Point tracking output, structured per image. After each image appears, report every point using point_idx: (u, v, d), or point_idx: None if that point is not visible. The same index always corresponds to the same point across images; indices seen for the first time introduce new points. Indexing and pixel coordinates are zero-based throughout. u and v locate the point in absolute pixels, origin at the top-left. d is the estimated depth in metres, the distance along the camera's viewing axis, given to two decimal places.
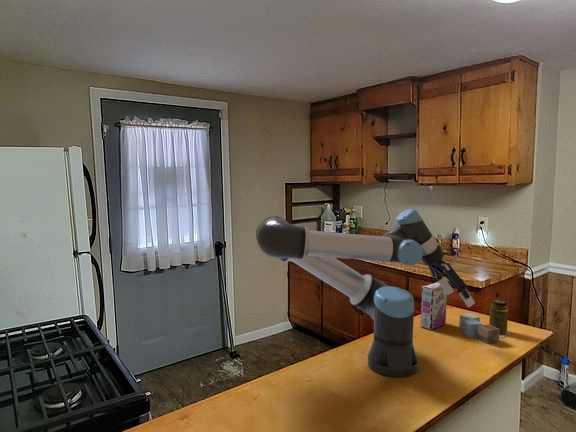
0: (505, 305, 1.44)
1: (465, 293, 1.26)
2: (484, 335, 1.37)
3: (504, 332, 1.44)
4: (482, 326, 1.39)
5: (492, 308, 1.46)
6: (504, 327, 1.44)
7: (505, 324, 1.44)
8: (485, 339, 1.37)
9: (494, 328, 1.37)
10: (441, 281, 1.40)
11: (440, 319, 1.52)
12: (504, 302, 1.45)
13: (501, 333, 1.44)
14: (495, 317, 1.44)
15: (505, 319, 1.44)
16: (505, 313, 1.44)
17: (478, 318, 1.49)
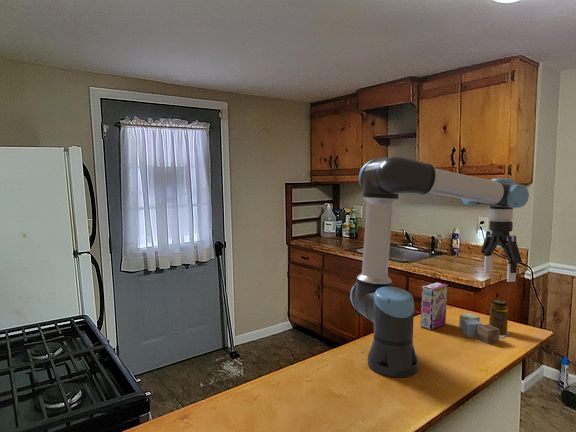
0: (505, 305, 1.44)
1: (514, 267, 1.36)
2: (484, 335, 1.37)
3: (504, 332, 1.44)
4: (482, 326, 1.39)
5: (492, 308, 1.46)
6: (504, 327, 1.44)
7: (505, 324, 1.44)
8: (485, 339, 1.37)
9: (494, 328, 1.37)
10: (487, 258, 1.50)
11: (440, 319, 1.52)
12: (504, 302, 1.45)
13: (501, 333, 1.44)
14: (495, 317, 1.44)
15: (505, 319, 1.44)
16: (505, 313, 1.44)
17: (478, 318, 1.49)
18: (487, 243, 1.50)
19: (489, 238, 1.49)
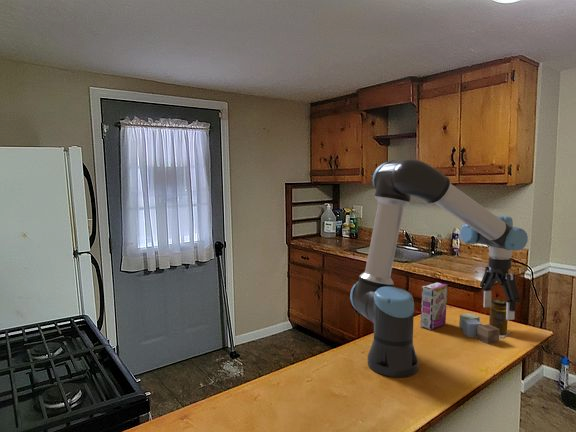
0: (505, 305, 1.44)
1: (513, 306, 1.37)
2: (484, 335, 1.37)
3: (504, 332, 1.44)
4: (482, 326, 1.39)
5: (492, 308, 1.46)
6: (504, 327, 1.44)
7: (505, 324, 1.44)
8: (485, 339, 1.37)
9: (494, 328, 1.37)
10: (487, 292, 1.52)
11: (440, 319, 1.52)
12: (504, 302, 1.45)
13: (501, 333, 1.44)
14: (495, 317, 1.44)
15: (505, 319, 1.44)
16: (505, 313, 1.44)
17: (478, 318, 1.49)
18: (486, 278, 1.52)
19: (488, 273, 1.51)
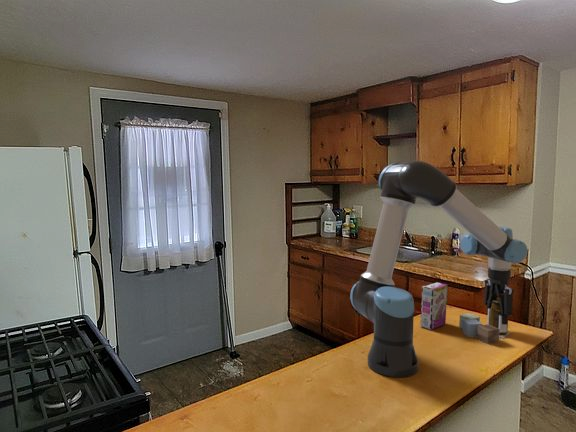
0: None
1: (505, 319, 1.41)
2: (484, 335, 1.37)
3: (505, 332, 1.44)
4: (482, 326, 1.39)
5: (492, 308, 1.46)
6: None
7: None
8: (485, 339, 1.37)
9: (494, 328, 1.37)
10: None
11: (440, 319, 1.52)
12: None
13: (502, 333, 1.44)
14: (496, 317, 1.44)
15: None
16: None
17: (478, 318, 1.49)
18: (488, 293, 1.51)
19: (489, 287, 1.50)
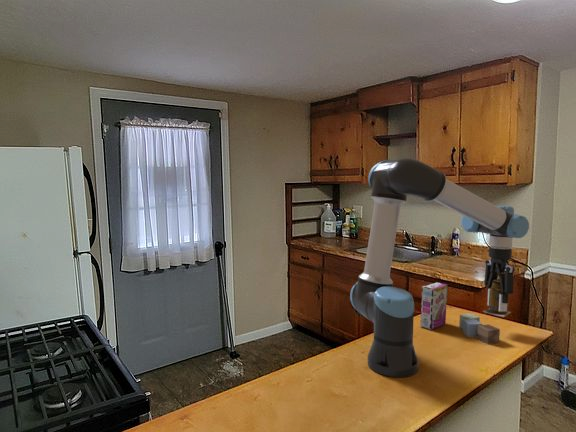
0: None
1: (506, 298, 1.40)
2: (484, 335, 1.37)
3: (505, 312, 1.43)
4: (482, 326, 1.39)
5: (493, 287, 1.45)
6: None
7: None
8: (485, 339, 1.37)
9: (494, 328, 1.37)
10: None
11: (440, 319, 1.52)
12: None
13: (502, 313, 1.43)
14: (496, 296, 1.43)
15: None
16: None
17: (478, 318, 1.49)
18: (489, 273, 1.50)
19: (489, 267, 1.50)
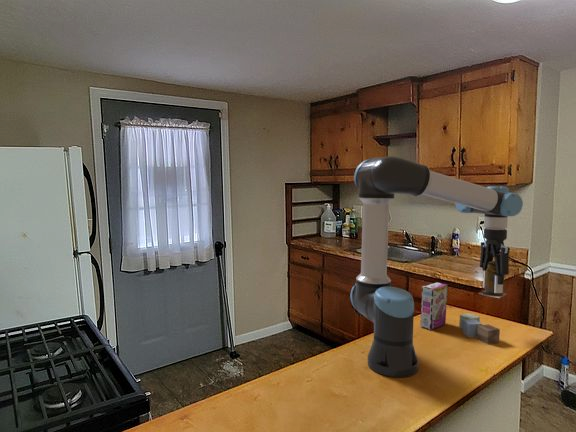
0: None
1: (501, 279, 1.39)
2: (484, 335, 1.37)
3: (500, 293, 1.41)
4: (482, 326, 1.39)
5: (488, 269, 1.43)
6: None
7: None
8: (485, 339, 1.37)
9: (494, 328, 1.37)
10: None
11: (440, 319, 1.52)
12: None
13: (497, 294, 1.41)
14: (492, 277, 1.42)
15: None
16: None
17: (478, 318, 1.49)
18: (484, 255, 1.48)
19: (485, 249, 1.48)
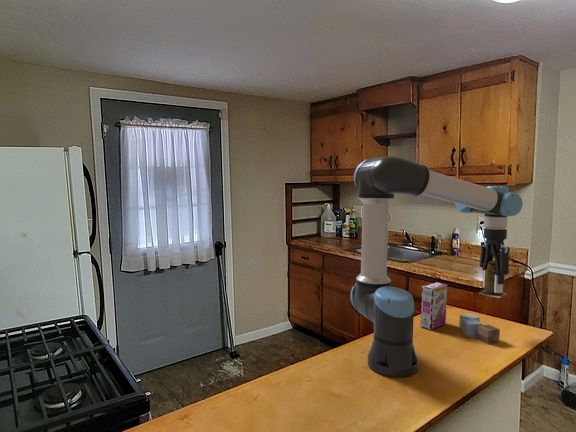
0: None
1: (501, 278, 1.39)
2: (484, 335, 1.37)
3: (500, 293, 1.41)
4: (482, 326, 1.39)
5: (488, 269, 1.43)
6: None
7: None
8: (485, 339, 1.37)
9: (494, 328, 1.37)
10: None
11: (440, 319, 1.52)
12: None
13: (497, 294, 1.41)
14: (492, 277, 1.42)
15: None
16: None
17: (478, 318, 1.49)
18: (484, 255, 1.48)
19: (485, 249, 1.48)
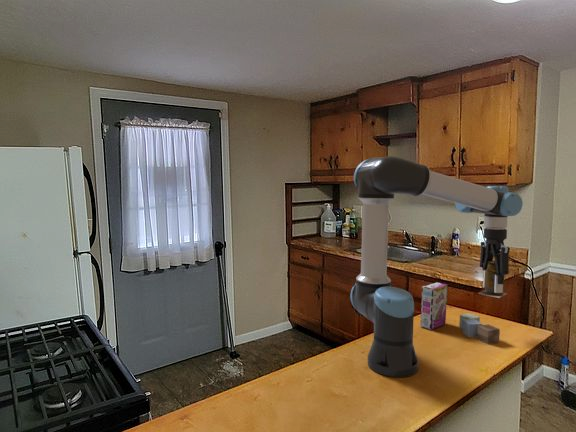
0: None
1: (501, 278, 1.39)
2: (484, 335, 1.37)
3: (500, 293, 1.41)
4: (482, 326, 1.39)
5: (488, 269, 1.43)
6: None
7: None
8: (485, 339, 1.37)
9: (494, 328, 1.37)
10: None
11: (440, 319, 1.52)
12: None
13: (497, 294, 1.41)
14: (492, 277, 1.42)
15: None
16: None
17: (478, 318, 1.49)
18: (484, 255, 1.48)
19: (485, 249, 1.48)
